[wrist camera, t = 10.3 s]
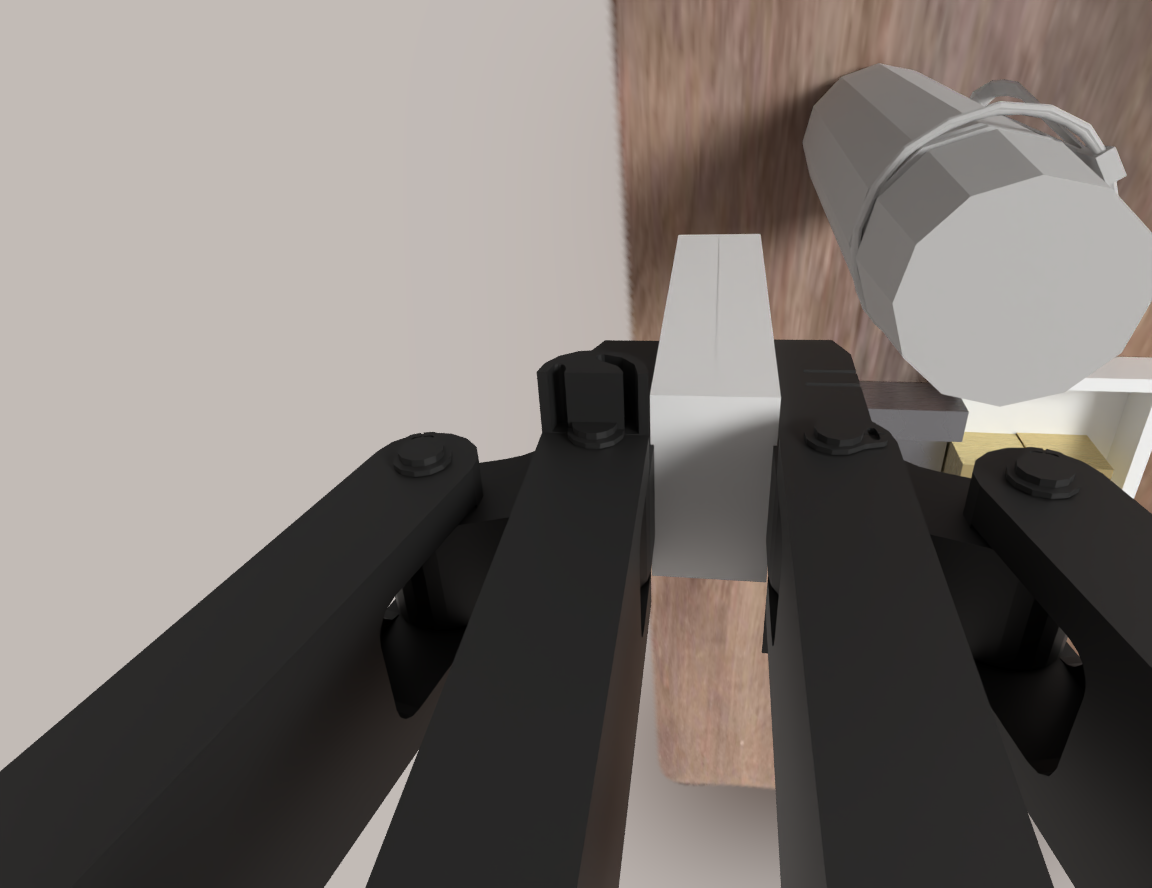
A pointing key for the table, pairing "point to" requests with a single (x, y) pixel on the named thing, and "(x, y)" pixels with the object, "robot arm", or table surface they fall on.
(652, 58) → the table surface
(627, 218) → the table surface
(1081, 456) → the khaki cube block
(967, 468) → the tan cube block
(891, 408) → the slot rail
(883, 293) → the water bottle
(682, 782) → the table surface
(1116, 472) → the white rectangular frame
